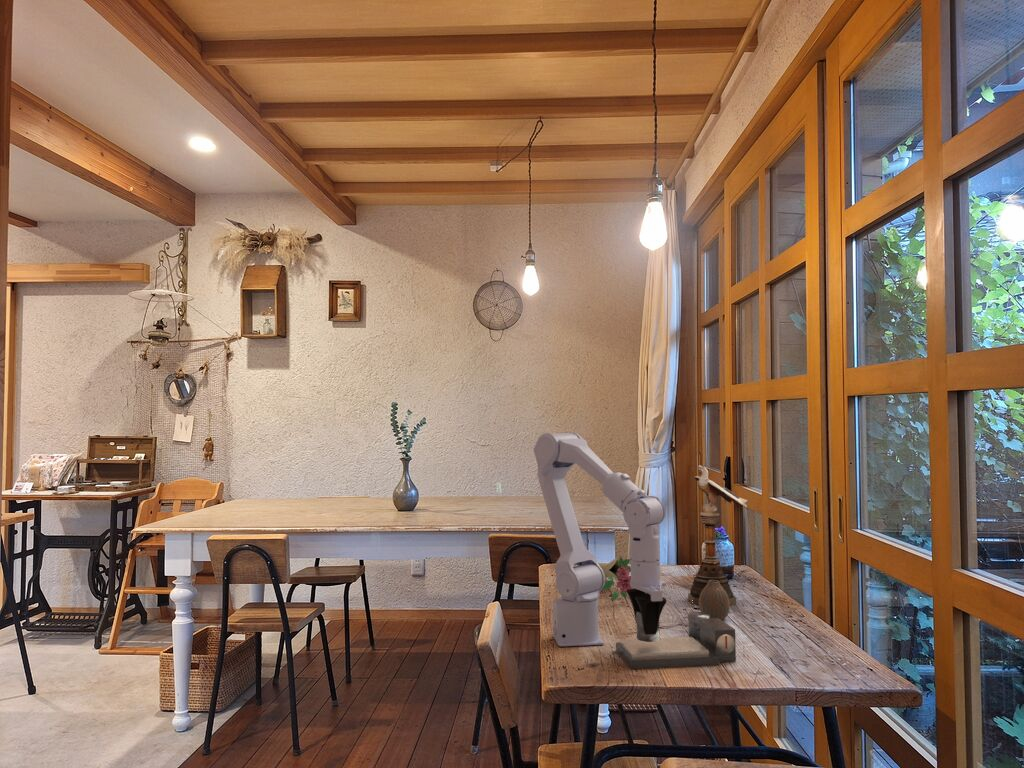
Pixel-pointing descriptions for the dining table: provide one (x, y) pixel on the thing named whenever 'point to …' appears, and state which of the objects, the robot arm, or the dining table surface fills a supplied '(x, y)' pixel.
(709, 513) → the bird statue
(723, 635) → the scale
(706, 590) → the brown egg-shaped piece
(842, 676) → the dining table surface
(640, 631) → the cylinder
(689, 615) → the ball
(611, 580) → the flower vase
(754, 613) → the dining table surface
